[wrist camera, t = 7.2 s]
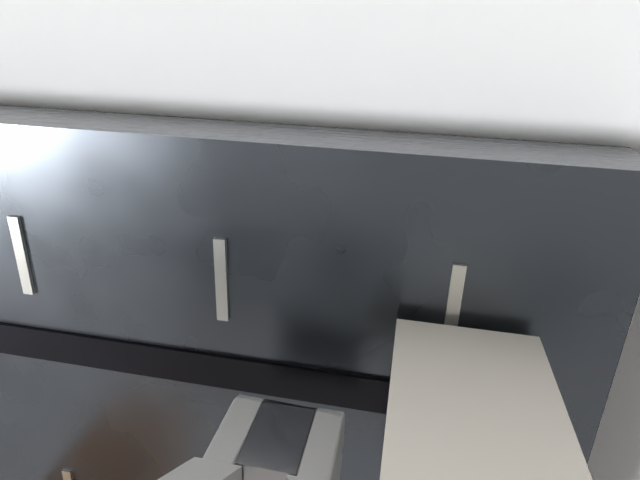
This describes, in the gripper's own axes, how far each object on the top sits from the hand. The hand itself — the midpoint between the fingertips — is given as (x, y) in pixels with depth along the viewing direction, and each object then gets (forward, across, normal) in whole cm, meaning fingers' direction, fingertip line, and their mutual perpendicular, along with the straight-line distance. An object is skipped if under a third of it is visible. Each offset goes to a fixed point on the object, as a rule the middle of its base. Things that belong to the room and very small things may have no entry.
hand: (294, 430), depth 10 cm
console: (+3, +2, +2) cm, 4 cm away
